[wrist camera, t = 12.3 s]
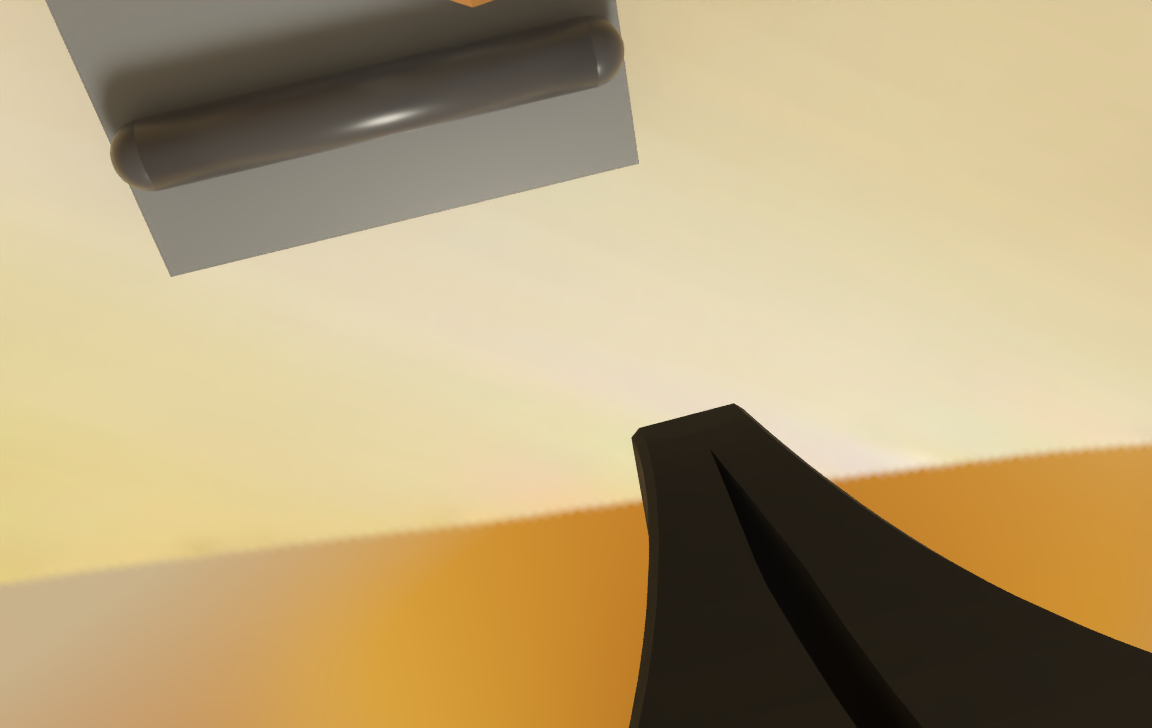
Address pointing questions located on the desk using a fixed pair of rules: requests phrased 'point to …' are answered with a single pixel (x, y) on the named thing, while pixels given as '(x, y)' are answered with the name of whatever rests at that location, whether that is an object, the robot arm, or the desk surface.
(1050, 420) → the desk surface
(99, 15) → the strip
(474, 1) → the lever
